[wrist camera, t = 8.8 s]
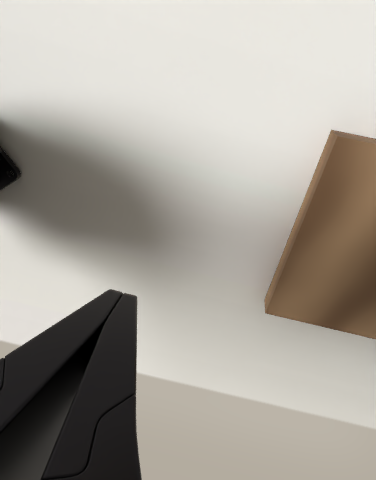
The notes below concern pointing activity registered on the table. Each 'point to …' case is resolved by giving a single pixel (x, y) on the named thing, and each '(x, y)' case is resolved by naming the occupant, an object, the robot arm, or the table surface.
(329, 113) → the table surface
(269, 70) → the table surface
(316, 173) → the board
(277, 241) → the table surface
